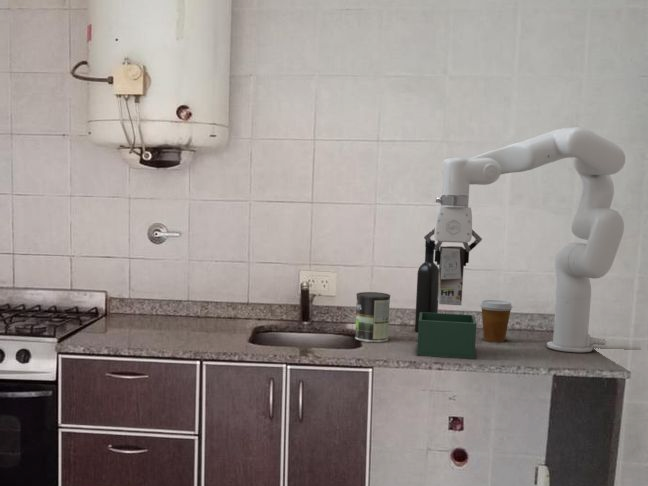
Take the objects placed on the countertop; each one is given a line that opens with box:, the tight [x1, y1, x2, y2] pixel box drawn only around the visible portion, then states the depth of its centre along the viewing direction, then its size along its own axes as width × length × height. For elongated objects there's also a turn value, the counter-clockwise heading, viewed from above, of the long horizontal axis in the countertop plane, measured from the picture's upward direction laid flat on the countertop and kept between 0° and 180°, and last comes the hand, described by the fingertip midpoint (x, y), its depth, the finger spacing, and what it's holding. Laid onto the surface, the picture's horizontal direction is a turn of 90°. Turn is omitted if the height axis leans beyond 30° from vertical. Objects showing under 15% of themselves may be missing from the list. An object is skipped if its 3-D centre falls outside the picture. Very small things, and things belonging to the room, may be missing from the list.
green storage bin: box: [416, 312, 477, 360], centre depth 235 cm, size 16×16×10 cm
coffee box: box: [438, 245, 465, 306], centre depth 233 cm, size 9×6×16 cm
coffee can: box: [354, 291, 391, 343], centre depth 252 cm, size 10×10×14 cm
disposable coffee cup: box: [479, 299, 513, 343], centre depth 254 cm, size 10×10×12 cm
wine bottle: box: [414, 239, 439, 333], centre depth 266 cm, size 6×6×30 cm
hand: (451, 264), depth 233 cm, fingers closed on coffee box, 6 cm apart
